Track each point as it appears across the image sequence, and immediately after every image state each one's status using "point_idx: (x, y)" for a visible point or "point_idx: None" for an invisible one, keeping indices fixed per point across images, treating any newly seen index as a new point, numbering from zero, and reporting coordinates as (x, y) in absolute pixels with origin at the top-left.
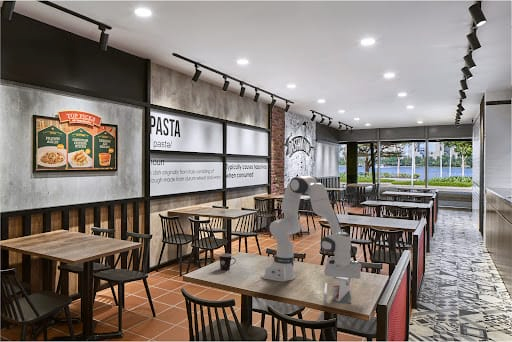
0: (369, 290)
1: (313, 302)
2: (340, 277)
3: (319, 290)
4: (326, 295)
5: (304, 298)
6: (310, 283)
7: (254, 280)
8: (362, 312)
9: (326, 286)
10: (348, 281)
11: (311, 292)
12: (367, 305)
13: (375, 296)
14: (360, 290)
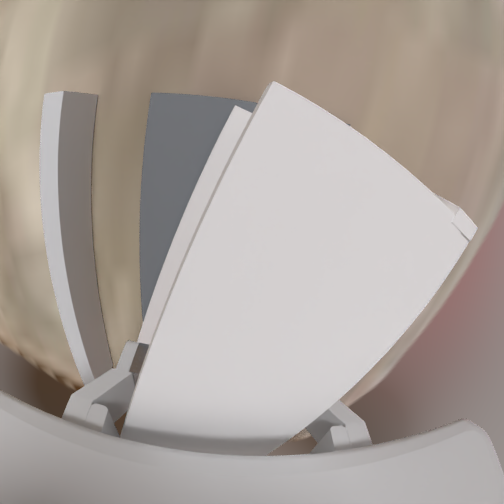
0: (491, 120)
1: (61, 372)
2: (189, 413)
3: (37, 162)
4: (96, 328)
5: (10, 326)
6: (6, 22)
7: None
8: (295, 435)
9: (55, 221)
10: (306, 427)
11: (3, 226)
12: (359, 382)
13: (478, 242)
14: (441, 110)
